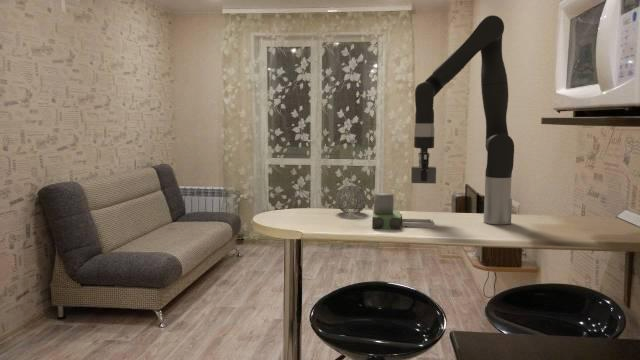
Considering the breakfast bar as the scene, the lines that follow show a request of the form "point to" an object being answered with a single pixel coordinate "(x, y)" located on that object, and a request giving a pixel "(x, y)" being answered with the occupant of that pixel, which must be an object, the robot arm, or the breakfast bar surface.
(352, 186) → the pendant light
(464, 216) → the breakfast bar surface
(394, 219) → the toy tractor
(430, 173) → the grey rectangular block
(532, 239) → the breakfast bar surface
